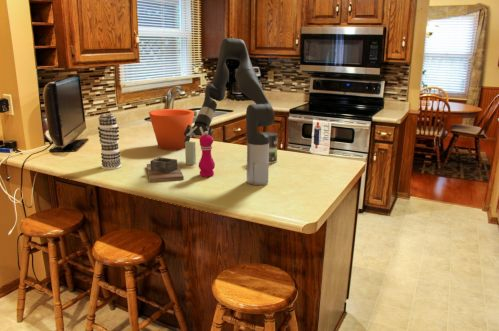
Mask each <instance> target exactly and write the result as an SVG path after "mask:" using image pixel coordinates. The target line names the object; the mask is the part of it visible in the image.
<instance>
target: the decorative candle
mask: <svg viewBox="0 0 499 331" xmlns="http://www.w3.org/2000/svg"><path fill="white" fill-rule="evenodd" d="M117 118H118V117H116V116H115V115H114V113H102V114H100V115H99V117H98V118H97V119H98V124H99V125H98V126H97V129H98V137H99V140H98V141H99V143H100V147H101V153H100V155H101V157H100V158H101V166H102V167H101V168H102V169H104V170H116V169H120V168H121V166H122V165H121V164H122V162H121V158H120V157H121V155H120V154H121V152H120V148H119V142H120V141H119V140H120V138H119V137H120V134H118V133H120V131H119V126H118V123H117Z"/></svg>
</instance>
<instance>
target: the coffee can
mask: <svg viewBox="0 0 499 331" xmlns="http://www.w3.org/2000/svg"><path fill="white" fill-rule="evenodd" d="M259 132H260V131H259ZM260 133H262V134H265V135H268V136H269V165H271V164H275V163H277V162H278V137H279V133H278V132H274V131H262V132H260Z"/></svg>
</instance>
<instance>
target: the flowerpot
mask: <svg viewBox="0 0 499 331" xmlns="http://www.w3.org/2000/svg"><path fill="white" fill-rule="evenodd" d="M148 115H149V119H150V123H151V126H152V128H153V133H154V136H155V139H156V143H157V146H158V148H159V149H160V150H163V151H164V150H165V151H180V150H184V149H185V142H184V141H185V138H186V137H185V135H184V132H185V130H186V128H187V126H188V125H190V126H193V121H194V115H195V111H194V110H190V109H184V108H165V109H155V110H154V109H153V110H149V112H148ZM189 136H190V135H189Z"/></svg>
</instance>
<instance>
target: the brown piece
mask: <svg viewBox="0 0 499 331" xmlns="http://www.w3.org/2000/svg"><path fill="white" fill-rule="evenodd" d="M146 169H147V170H146V171H147V174H148V177H149V181H150V183H158V182H169V181H170V182H172V181H184V180H185V179H184V178H185V177H184V175H183V173H182V170H181V169H180V167H179V164H178V159H175V158H168V157H167V158H166V157H157V158H154V159H151V160H150V163H146Z"/></svg>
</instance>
